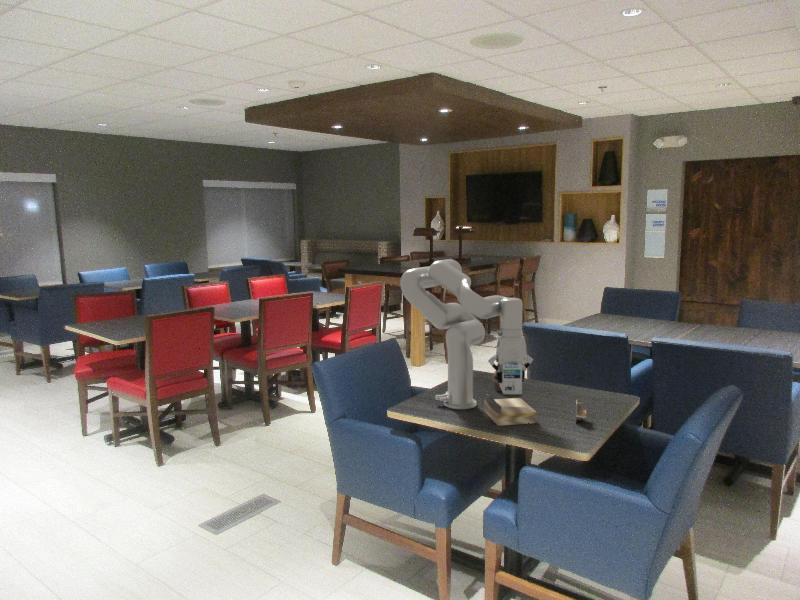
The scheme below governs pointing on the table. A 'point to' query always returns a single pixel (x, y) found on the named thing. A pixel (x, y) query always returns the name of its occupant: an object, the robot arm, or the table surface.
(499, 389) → the cupcake
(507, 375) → the light bulb box
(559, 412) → the table surface
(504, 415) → the beige flat block
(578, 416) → the architectural model
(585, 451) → the table surface
